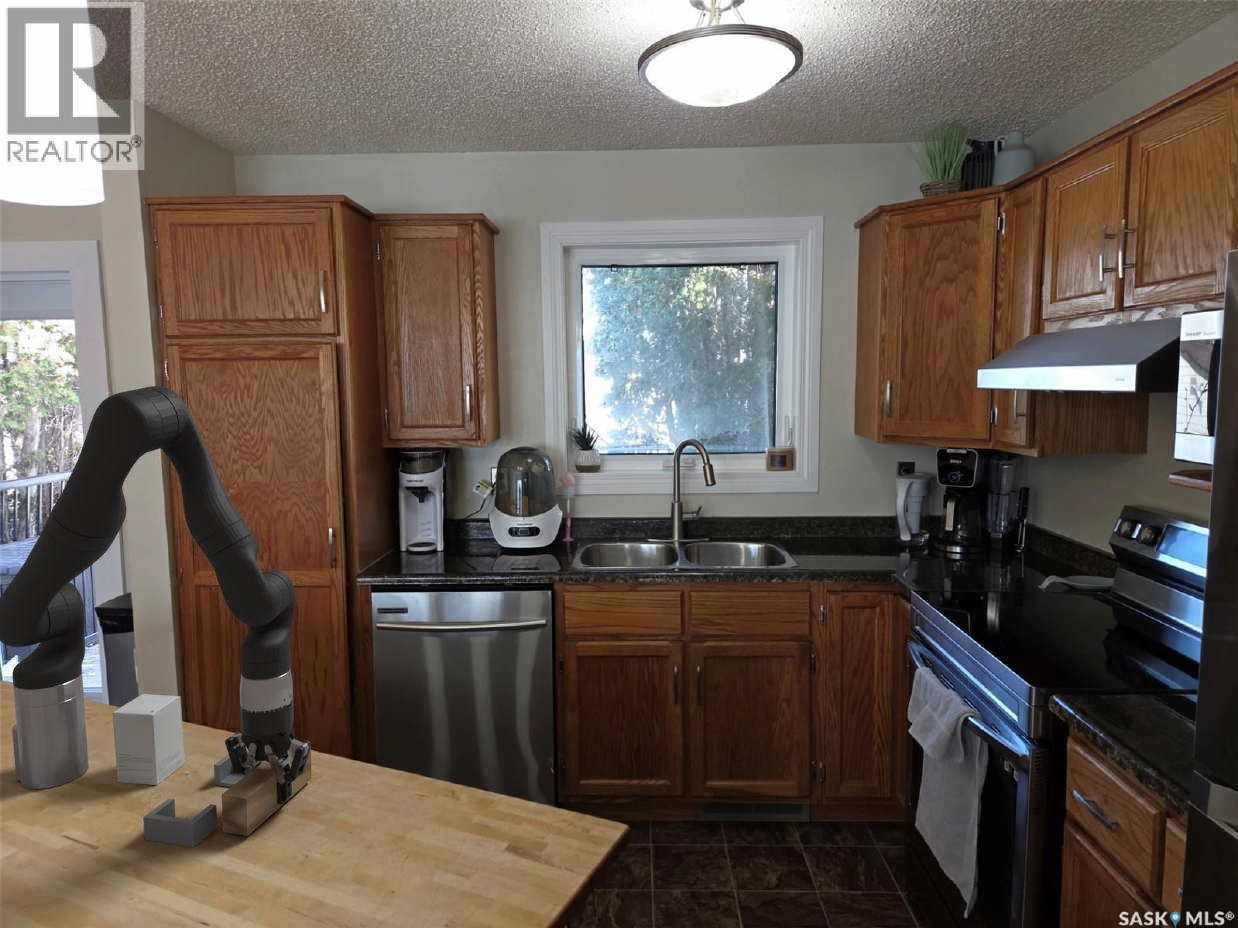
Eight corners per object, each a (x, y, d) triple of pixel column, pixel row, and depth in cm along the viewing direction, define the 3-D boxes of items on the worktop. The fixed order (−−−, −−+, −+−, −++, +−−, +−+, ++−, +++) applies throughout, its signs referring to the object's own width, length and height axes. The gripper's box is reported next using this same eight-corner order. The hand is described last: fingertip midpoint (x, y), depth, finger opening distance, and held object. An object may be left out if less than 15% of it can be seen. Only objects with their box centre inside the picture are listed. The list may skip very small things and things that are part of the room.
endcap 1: (144, 839, 112) (143, 817, 111) (170, 819, 117) (168, 798, 116) (193, 847, 110) (192, 824, 110) (217, 826, 115) (216, 804, 115)
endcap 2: (277, 774, 130) (276, 755, 129) (259, 790, 125) (258, 770, 125) (234, 769, 131) (233, 749, 131) (214, 784, 126) (213, 764, 126)
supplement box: (186, 763, 133) (182, 695, 131) (156, 786, 126) (152, 714, 124) (147, 759, 134) (143, 692, 132) (115, 782, 126) (110, 711, 125)
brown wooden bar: (222, 831, 113) (221, 794, 112) (289, 775, 129) (288, 742, 128) (247, 835, 112) (246, 798, 112) (311, 778, 128) (310, 745, 127)
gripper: (209, 703, 116) (213, 807, 118) (294, 714, 113) (296, 819, 116) (241, 683, 123) (244, 781, 125) (321, 692, 121) (323, 792, 123)
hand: (269, 799), depth 120 cm, fingers closed on brown wooden bar, 4 cm apart
